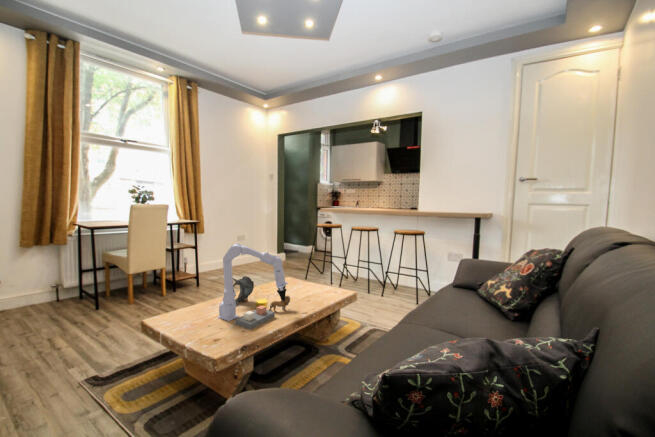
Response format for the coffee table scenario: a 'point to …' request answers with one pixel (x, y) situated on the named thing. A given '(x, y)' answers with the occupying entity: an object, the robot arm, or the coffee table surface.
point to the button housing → (254, 320)
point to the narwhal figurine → (244, 289)
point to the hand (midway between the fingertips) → (283, 298)
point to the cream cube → (249, 316)
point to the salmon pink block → (261, 310)
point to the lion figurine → (280, 304)
